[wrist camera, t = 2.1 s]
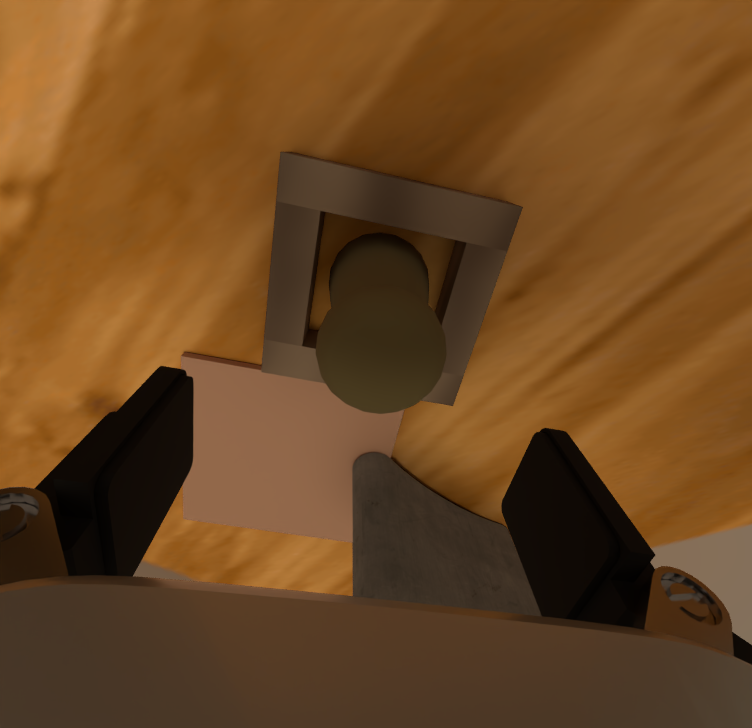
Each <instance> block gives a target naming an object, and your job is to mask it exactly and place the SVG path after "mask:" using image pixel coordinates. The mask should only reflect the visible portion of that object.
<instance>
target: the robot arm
mask: <svg viewBox="0 0 752 728" xmlns="http://www.w3.org/2000/svg"><path fill="white" fill-rule="evenodd" d="M193 412H194V382H193V377H191V376H187V373H186V371H185V370H183V369H177V368H171V367H164V366H160V367H159V368H158V369H157V370H156V371H155V372H154V373H153V374H152V375H151V376H150V377H149V378H148V379H147V380H146V381H145V382H144V383H143V384H142V386H141V387H140V388H139V389H138V390H137V391H136V392H135V393H134V394H133V395H132V396H131V397H130V398H129V399H128V400H127V401H126V402H125V403H124V404H123V406H122V407H121V408H120V409H119V410H118V411H117V412H115V411H114V412H110V413H109V414H108V415H106V416H105V417H104V418H103V419H102V420H101V421H100V422H99V423H98V424H97V425H96V426H95V427H94V428H93V429H92V430H91V431H90V432H89V433H88V434H87V435H86V436H85V437H84V439H83V440H82V441H81V442H80V443H79V444H78V445H77V446H76V447H75V448H74V449H73V450H72V451H71V452H70V453H69V454H68V455H67V456H66V457H65V458H64V459H63V460H62V461H61V462H60V463H59V464H58V465H57V466H56V467H55V468H54V469H53V470H52V471H51V472H50V473H49V474H48V475H47V476H46V477H45V478H44V479H43V480H42V481H41V483H40V484H39V485H38V486H37V487H36V488H35V489H33V488H27V487H9V488H4V489H0V728H752V645H751V644H749V643H748V642H746V641H745V640H743V639H742V638H740V637H739V636H737V635H736V634H734V633H733V632H732V623H731V619H730V616H729V613H728V611H727V609H726V608H725V606H724V604H723V603H722V602H721V601H720V599H719V598H718V597H717V596H716V595H715V594H714V593H713V592H712V591H711V590H710V589H709V588H708V587H707V586H706V585H704V584H703V583H702V582H700V581H699V580H698V579H696V578H694V577H693V576H692V575H690V574H688V573H686V572H684V571H682V570H680V569H676V568H673V567H668V566H661V567H659V568H656V569H654V567H653V566H652V564H651V563H650V561H651V560H652V559H653V557H654V556H655V554H654V552H653V551H652V549H651V548H650V547H649V545H648V544H647V543H646V541H645V540H644V538H643V537H642V536H641V534H640V533H639V532H638V530H637V529H636V527H635V526H634V525H633V523H632V522H631V520H630V519H629V518H628V516H627V515H626V514H625V512H624V511H623V509H622V508H621V507H620V505H619V504H618V502H617V501H616V500H615V498H614V497H613V496H612V494H611V493H610V491H609V490H608V489H607V487H606V486H605V484H604V483H603V482H602V480H601V479H600V478H599V476H598V475H597V473H596V472H595V471H594V469H593V468H592V466H591V465H590V464H589V462H588V461H587V460H586V458H585V457H584V455H583V454H582V453H581V451H580V450H579V448H578V447H577V446H576V444H575V443H574V442H573V440H572V439H571V437H570V436H569V435H568V433H566V432H565V431H561V430H555V429H549V428H544V429H542V430H541V431H540V432H536V433H535V434H534V436H533V437H532V440H531V442H530V444H529V446H528V448H527V450H526V452H525V454H524V456H523V458H522V461H521V463H520V465H519V467H518V469H517V471H516V473H515V475H514V477H513V479H512V482H511V484H510V486H509V488H508V490H507V492H506V494H505V496H504V498H503V501H502V513H503V516H504V519H505V522H506V524H507V527H508V529H509V532H510V535H511V537H512V540H513V542H514V545H515V548H516V550H517V553H518V555H519V558H520V561H521V563H522V566H523V569H524V571H525V574H526V576H527V579H528V582H529V584H530V587H531V589H532V592H533V595H534V597H535V600H536V603H537V605H538V608H539V610H540V613H541V616H534V615H525V614H515V613H506V612H497V611H488V610H479V609H470V608H460V607H451V606H441V605H431V604H422V603H412V602H403V601H393V600H383V599H373V598H364V597H354V596H344V595H334V594H324V593H314V592H303V591H293V590H283V589H273V588H262V587H252V586H242V585H232V584H221V583H210V582H197V581H185V580H172V579H160V578H148V577H133V575H134V573H135V571H136V569H137V567H138V566H139V564H140V562H141V560H142V558H143V556H144V555H145V553H146V551H147V549H148V547H149V545H150V544H151V542H152V540H153V538H154V536H155V534H156V533H157V531H158V529H159V527H160V525H161V523H162V522H163V520H164V518H165V516H166V514H167V512H168V511H169V509H170V507H171V505H172V503H173V501H174V499H175V498H176V496H177V494H178V492H179V490H180V488H181V487H182V485H183V483H184V481H185V479H186V477H187V476H188V474H189V472H190V470H191V467H192V463H193Z"/></svg>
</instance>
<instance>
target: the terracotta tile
mask: <svg viewBox="0 0 752 728" xmlns="http://www.w3.org/2000/svg"><path fill="white" fill-rule="evenodd" d="M261 368H262V366H261V365H255V364H249V363H244V362H238V361H233V360H227V359H221V358H216V357H210V356H204V355H199V354H193V353H188V352H184V353H183V355H182V356H181V369H183V370H185V371H186V373H187V376H191V377H193V382H194V412H193V463H192V467H191V470H190V472H189V474H188V476H187V477H186V479H185V481H184V483H183V519H187V520H194V521H201V522H208V523H216V524H223V525H230V526H237V527H244V528H251V529H258V530H266V531H273V532H280V533H287V534H294V535H301V536H309V537H316V538H323V539H330V540H337V541H344V542H352V543H353V510H352V467H353V464H354V462H355V461H356V460H357V459H358V458H359V457H360V456H362V455H364V454H367V453H381V454H384V455H386V456H388V457H389V458H391V455H392V451H393V448H394V444H395V441H396V437H397V434H398V430H399V427H400V423H401V420H402V417H403V413H404V410H405V409H404V410H401V411H399V412H393V413H385V414H377V413H370V412H363V411H361V410H359V409H356V408H354V407H352V406H349V405H347V404H345V403H344V402H343V401H342V400H340V399H339V398H338V397H337V396H336V395H334V394H333V393H332V392H331V391H330V389H329V388H328V386H327V385H326V384H325V383H320V382H314V381H308V380H303V379H297V378H292V377H286V376H280V375H275V374H269V373H263V372H261Z"/></svg>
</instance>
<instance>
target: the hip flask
mask: <svg viewBox="0 0 752 728" xmlns="http://www.w3.org/2000/svg"><path fill="white" fill-rule="evenodd" d="M352 510H353V596H354V597H364V598H373V599H383V600H393V601H403V602H412V603H422V604H431V605H441V606H451V607H460V608H470V609H479V610H488V611H497V612H506V613H515V614H525V615H534V616H541V613H540V610H539V608H538V605H537V603H536V600H535V597H534V595H533V592H532V589H531V587H530V584H529V582H528V579H527V576H526V574H525V571H524V569H523V566H522V563H521V561H520V558H519V556H518V553H517V551H516V548H515V546H514V543H513V541H512V539H511V536H510V534H509V531H508V529H507V528H506V527H505V526H503V525H501V524H498V523H495V522H492V521H489V520H487V519H484V518H482V517H479V516H477V515H475V514H472V513H470V512H468V511H466V510H464V509H462V508H460V507H458V506H456V505H454V504H453V503H451V502H449V501H447V500H446V499H444V498H442V497H441V496H439V495H437V494H436V493H434V492H432V491H431V490H429V489H428V488H426V487H425V486H423V485H422V484H421V483H419V482H418V481H416V480H415V479H414V478H412V477H411V476H410V475H409V474H407V473H406V472H405V471H404V470H403V469H401V468H400V467H399V466H398V465H397V464H396V463H395V462H394V461H393V460H392V459H391V458H389V457H388V456H386V455H384V454H381V453H367V454H364V455H362V456H360V457H359V458H358V459H357V460H356V461H355V462H354V464H353V467H352Z"/></svg>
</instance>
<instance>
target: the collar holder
mask: <svg viewBox="0 0 752 728" xmlns="http://www.w3.org/2000/svg"><path fill="white" fill-rule="evenodd" d="M522 208H523V207H521V206H518V205H515V204H512V203H510V202H507V201H502V200H498V199H493V198H489V197H485V196H480V195H476V194H472V193H467V192H463V191H459V190H454V189H450V188H446V187H441V186H437V185H433V184H428V183H424V182H419V181H415V180H411V179H406V178H402V177H398V176H393V175H389V174H385V173H380V172H376V171H372V170H367V169H363V168H359V167H354V166H350V165H345V164H341V163H337V162H332V161H328V160H324V159H319V158H315V157H311V156H306V155H302V154H298V153H293V152H281V153H280V164H279V176H278V187H277V198H276V210H275V221H274V232H273V244H272V255H271V266H270V278H269V289H268V300H267V312H266V323H265V334H264V345H263V357H262V368H261V372H263V373H269V374H275V375H280V376H286V377H292V378H297V379H303V380H308V381H314V382H320V383H325V382H324V380H323V379H322V377H321V374H320V370H319V365H318V361H317V357H316V344H317V335H318V331H312V330H308V328H309V321H310V314H311V307H312V300H313V293H314V286H315V279H316V272H317V265H318V258H319V250H320V243H321V236H322V229H323V222H324V215H325V212H328V213H333V214H338V215H342V216H347V217H351V218H356V219H361V220H365V221H370V222H374V223H379V224H384V225H388V226H393V227H397V228H402V229H407V230H411V231H416V232H420V233H425V234H430V235H434V236H439V237H443V238H448V239H453V240H456V243H455V246H454V249H453V253H452V256H451V260H450V263H449V267H448V270H447V273H446V277H445V280H444V284H443V287H442V291H441V294H440V298H439V301H438V304H437V308H436V311H435V313H436V316H437V318H438V320H439V322H440V324H441V327H442V329H443V331H444V333H445V338H446V351H447V355H446V360H445V364H444V368H443V371H442V375H441V378H440V379H439V381H438V382H437V384H436V385H435V387H434V388H433V390H432V391H431V392H430V393H429V394H428V395H427V396H425V397H424V398H423V399H422V401H427V402H433V403H439V404H444V405H450V406H453V404H454V401H455V398H456V396H457V393H458V390H459V387H460V384H461V381H462V379H463V376H464V373H465V370H466V367H467V364H468V361H469V359H470V356H471V353H472V350H473V347H474V344H475V342H476V339H477V336H478V333H479V330H480V327H481V325H482V322H483V319H484V316H485V313H486V310H487V307H488V305H489V302H490V299H491V296H492V293H493V290H494V288H495V285H496V282H497V279H498V276H499V273H500V270H501V268H502V265H503V262H504V259H505V256H506V253H507V251H508V248H509V245H510V242H511V239H512V236H513V233H514V231H515V228H516V225H517V222H518V219H519V216H520V214H521V211H522ZM325 384H326V383H325Z"/></svg>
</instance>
